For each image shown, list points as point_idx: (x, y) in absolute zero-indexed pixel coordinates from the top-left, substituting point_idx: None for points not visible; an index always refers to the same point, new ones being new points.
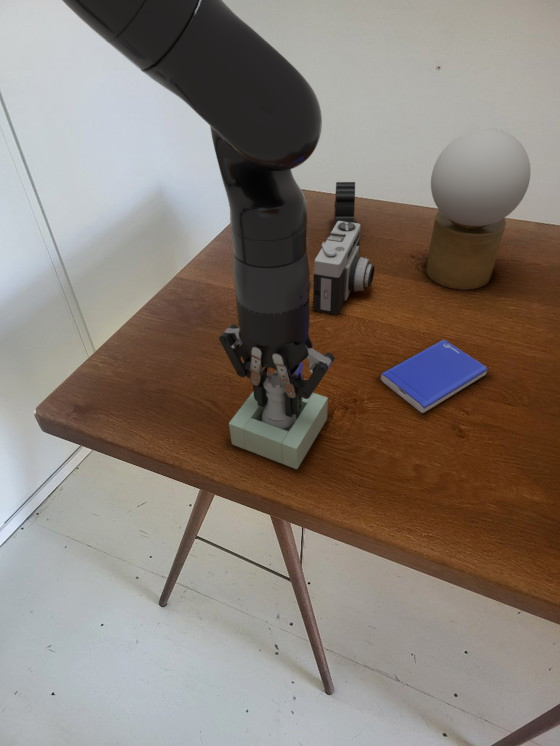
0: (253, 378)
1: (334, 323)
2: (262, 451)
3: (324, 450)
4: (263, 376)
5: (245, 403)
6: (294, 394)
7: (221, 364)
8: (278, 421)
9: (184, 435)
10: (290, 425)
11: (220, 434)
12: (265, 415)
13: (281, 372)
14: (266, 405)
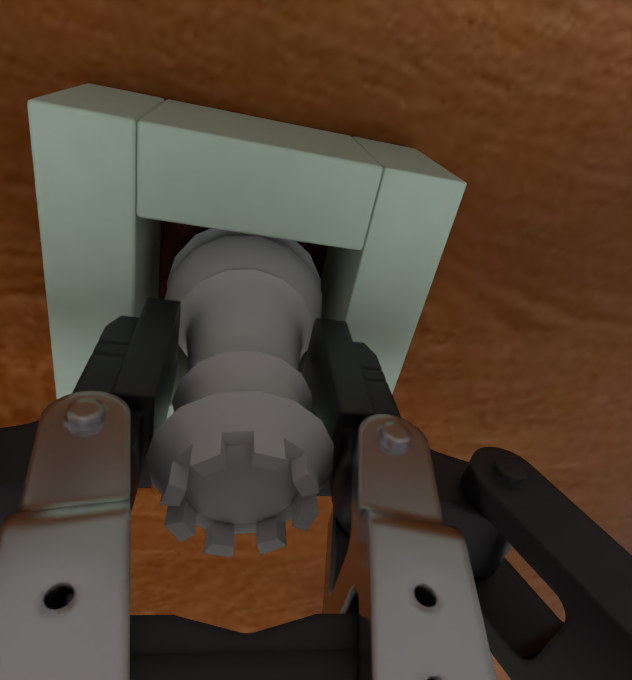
0: (407, 461)
1: None
2: (266, 123)
3: (29, 226)
4: (345, 489)
5: (410, 324)
6: (45, 420)
7: None
8: (222, 270)
9: (618, 142)
10: (172, 275)
11: (472, 188)
12: (298, 288)
13: (65, 657)
14: None
